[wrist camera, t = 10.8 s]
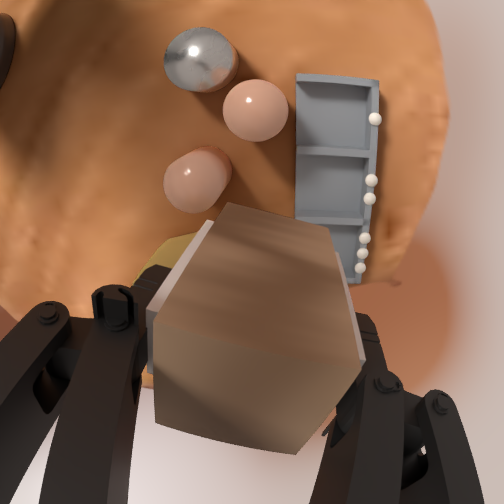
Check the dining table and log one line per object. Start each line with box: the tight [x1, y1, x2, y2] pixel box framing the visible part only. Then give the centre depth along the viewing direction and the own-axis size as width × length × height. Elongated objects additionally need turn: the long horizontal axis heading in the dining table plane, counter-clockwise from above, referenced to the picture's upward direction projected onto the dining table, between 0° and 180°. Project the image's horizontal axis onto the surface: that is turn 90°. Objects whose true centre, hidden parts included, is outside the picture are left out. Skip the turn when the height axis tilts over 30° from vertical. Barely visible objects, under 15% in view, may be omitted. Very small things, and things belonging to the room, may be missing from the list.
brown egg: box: [163, 146, 232, 213], centre depth 27 cm, size 5×5×6 cm
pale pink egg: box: [223, 79, 288, 142], centre depth 24 cm, size 5×5×6 cm
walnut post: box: [153, 202, 362, 455], centre depth 10 cm, size 4×4×8 cm
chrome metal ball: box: [164, 27, 239, 92], centre depth 23 cm, size 6×6×4 cm
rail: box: [295, 73, 382, 284], centre depth 28 cm, size 21×8×3 cm, turn 1°
